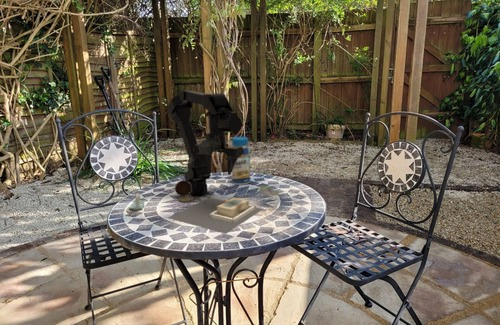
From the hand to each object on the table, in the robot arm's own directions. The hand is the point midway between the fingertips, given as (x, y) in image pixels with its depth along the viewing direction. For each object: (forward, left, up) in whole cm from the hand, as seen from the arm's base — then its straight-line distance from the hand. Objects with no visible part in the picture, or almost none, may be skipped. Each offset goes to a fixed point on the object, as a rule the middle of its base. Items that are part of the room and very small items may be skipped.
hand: (219, 172), depth 124 cm
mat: (+5, -9, -12) cm, 16 cm away
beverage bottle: (-8, +26, -12) cm, 30 cm away
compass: (-13, -3, -12) cm, 18 cm away
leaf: (+12, +16, -13) cm, 24 cm away
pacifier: (-24, -19, -12) cm, 33 cm away
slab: (+10, -6, -11) cm, 16 cm away
